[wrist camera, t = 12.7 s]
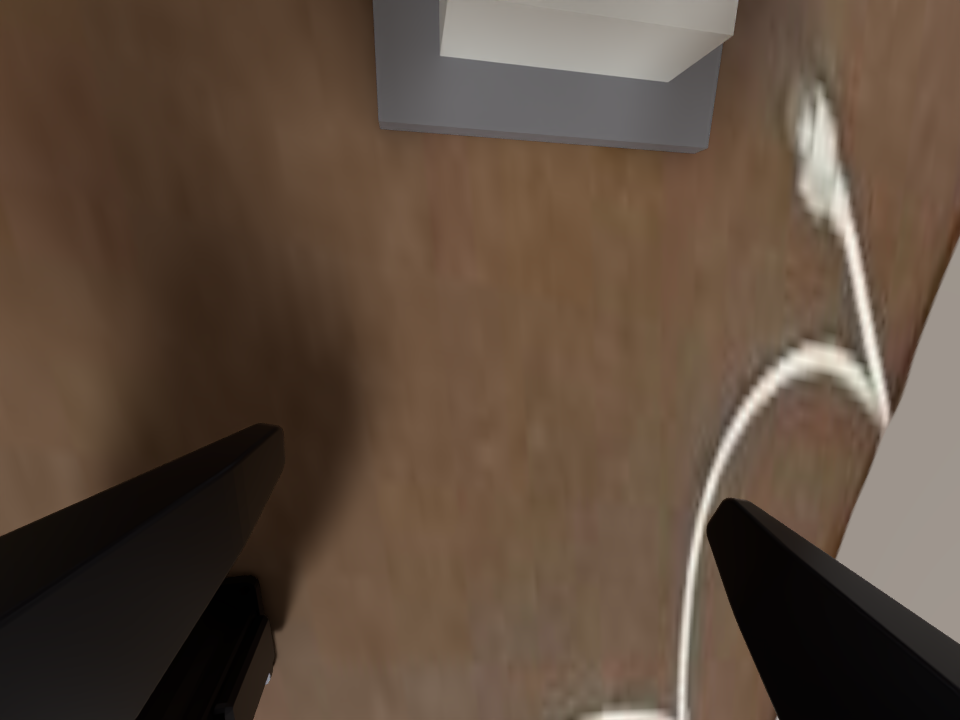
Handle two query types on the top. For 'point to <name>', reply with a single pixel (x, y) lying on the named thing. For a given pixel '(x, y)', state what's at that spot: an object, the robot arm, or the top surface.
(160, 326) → the top surface
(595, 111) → the cup holder
